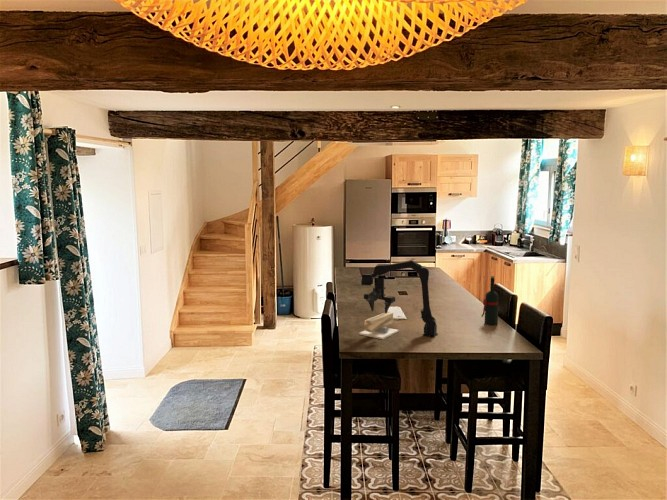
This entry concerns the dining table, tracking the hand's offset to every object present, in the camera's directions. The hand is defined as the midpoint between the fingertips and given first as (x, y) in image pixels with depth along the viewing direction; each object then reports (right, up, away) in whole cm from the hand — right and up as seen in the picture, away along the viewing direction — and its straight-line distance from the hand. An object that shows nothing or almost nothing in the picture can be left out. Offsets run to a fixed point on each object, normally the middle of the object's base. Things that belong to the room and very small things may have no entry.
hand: (379, 312), depth 298 cm
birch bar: (0, -9, +1) cm, 9 cm away
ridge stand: (0, -12, +2) cm, 13 cm away
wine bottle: (+70, -10, +19) cm, 73 cm away
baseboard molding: (+16, -7, +45) cm, 48 cm away
